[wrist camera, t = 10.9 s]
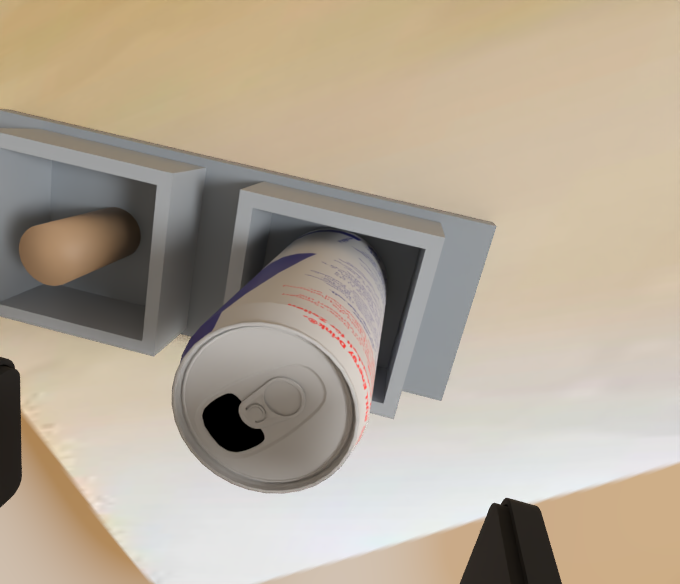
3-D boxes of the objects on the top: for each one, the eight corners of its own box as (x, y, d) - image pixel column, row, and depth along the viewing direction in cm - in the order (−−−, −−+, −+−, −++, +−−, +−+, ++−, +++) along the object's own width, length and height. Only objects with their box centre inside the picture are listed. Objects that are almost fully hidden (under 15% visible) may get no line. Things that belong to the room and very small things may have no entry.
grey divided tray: (8, 281, 28) (-94, 318, 22) (9, 109, 25) (-109, 103, 19) (440, 391, 26) (447, 462, 21) (492, 222, 24) (518, 251, 18)
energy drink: (256, 263, 25) (123, 374, 13) (349, 204, 23) (290, 273, 12) (316, 352, 26) (240, 527, 14) (409, 301, 24) (408, 451, 13)
